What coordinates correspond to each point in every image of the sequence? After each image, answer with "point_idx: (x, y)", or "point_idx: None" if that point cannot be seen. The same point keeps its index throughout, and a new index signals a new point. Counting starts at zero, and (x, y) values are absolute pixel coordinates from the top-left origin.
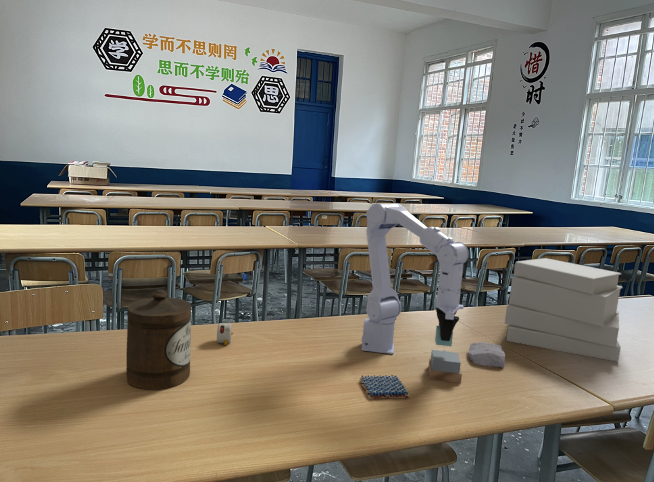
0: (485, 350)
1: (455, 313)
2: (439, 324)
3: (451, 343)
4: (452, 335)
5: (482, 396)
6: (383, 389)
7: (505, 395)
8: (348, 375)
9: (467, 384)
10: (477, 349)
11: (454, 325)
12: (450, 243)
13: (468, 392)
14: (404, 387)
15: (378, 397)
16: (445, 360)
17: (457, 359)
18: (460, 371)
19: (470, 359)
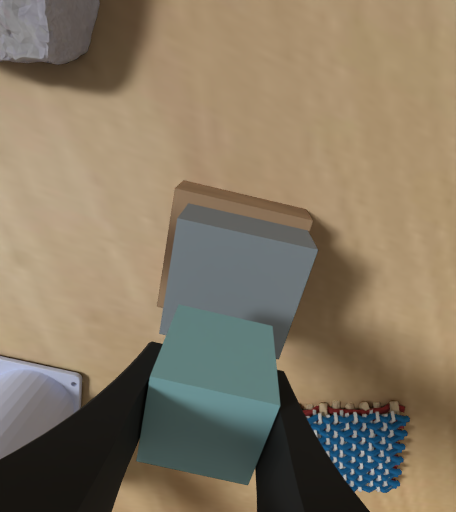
0: None
1: (80, 508)
2: (130, 455)
3: (273, 340)
4: (276, 381)
5: (433, 160)
6: (369, 461)
7: (446, 33)
8: (254, 493)
9: (319, 185)
10: None
11: (363, 507)
12: None
13: (390, 207)
14: (366, 416)
15: (396, 468)
16: (289, 313)
17: (274, 251)
18: (285, 217)
19: (35, 61)
